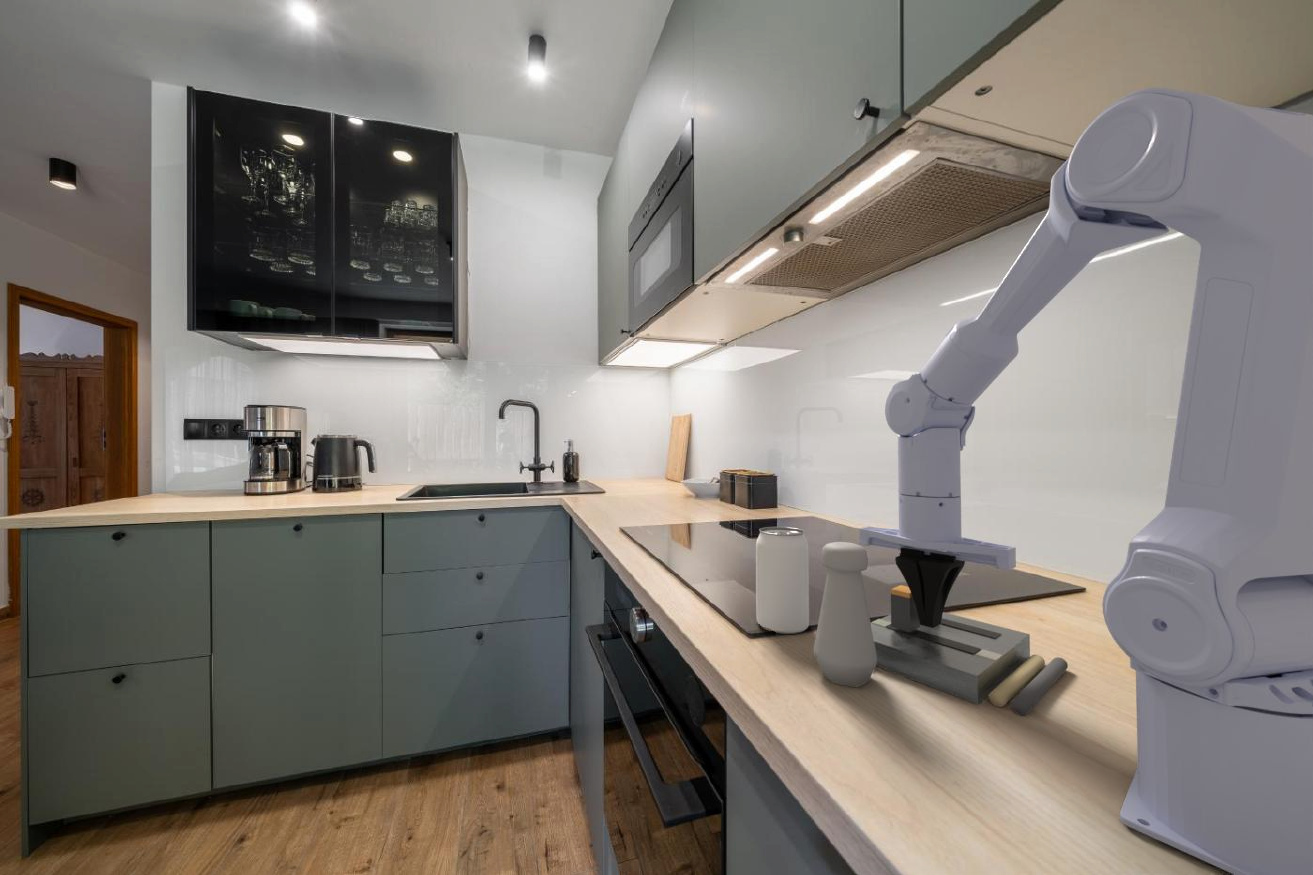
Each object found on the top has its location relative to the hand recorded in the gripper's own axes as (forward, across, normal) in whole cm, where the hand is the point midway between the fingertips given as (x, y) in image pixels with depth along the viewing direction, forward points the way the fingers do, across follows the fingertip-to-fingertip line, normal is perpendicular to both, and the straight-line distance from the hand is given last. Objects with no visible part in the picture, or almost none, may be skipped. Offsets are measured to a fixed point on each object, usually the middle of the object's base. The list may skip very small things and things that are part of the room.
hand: (930, 624), depth 49 cm
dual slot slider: (+4, 0, -2) cm, 4 cm away
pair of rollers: (+4, -8, -2) cm, 9 cm away
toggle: (+1, +3, 0) cm, 3 cm away
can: (+4, +16, +4) cm, 17 cm away
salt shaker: (+4, +4, +10) cm, 11 cm away
